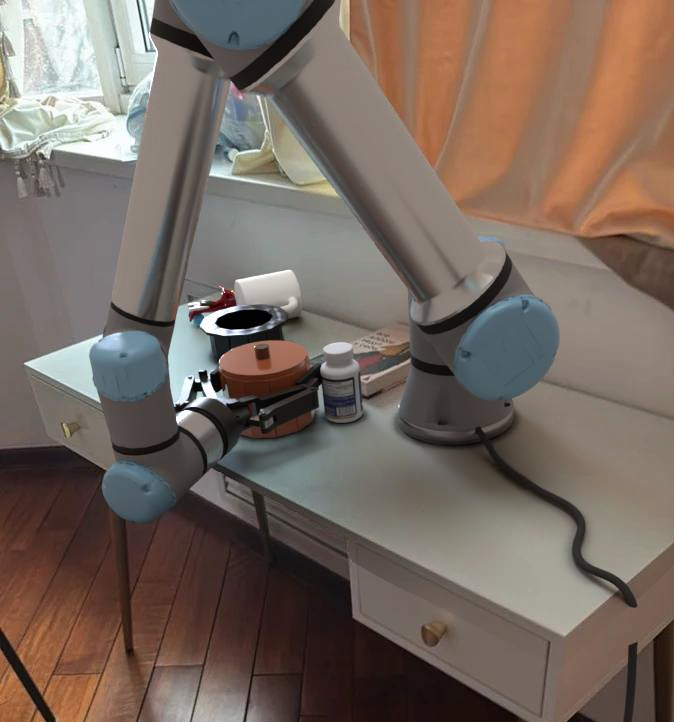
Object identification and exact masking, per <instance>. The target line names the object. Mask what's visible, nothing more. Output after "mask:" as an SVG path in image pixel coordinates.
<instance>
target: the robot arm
mask: <svg viewBox="0 0 674 722" xmlns="http://www.w3.org/2000/svg"><path fill="white" fill-rule="evenodd" d="M341 3H342V0H154V2H153V8H152V16H151V22H150V28H149V33H148V37H149V39H150V41H151V43H152V45H153V47H154V50H155V53H156V55H155V60H154V66H153V71H152V76H151V82H150V87H149V92H148V98H147V103H146V108H145V114H144V119H143V125H142V130H141V134H140V142H139V146H138V151H137V158H136V163H135V168H134V173H133V178H132V185H131V189H130V193H129V194H130V195H129V199H128V206H127V212H126V217H125V222H124V227H123V232H122V238H121V244H120V249H119V254H118V260H117V265H116V271H115V276H114V282H113V285H112V286H113V287H112V293H111V297H110V300H111V301H110V305H109V309H108V313H107V319H106V323H105V325H104V327H103V332H102V338H100V339H98V341H97V342H96V343H93V345H92V346H91V347H90V349H89V353H88V359H89V363H90V366H91V372H92V382H93V383H92V384H93V385H94V387H95V389H96V392H97V396H98V399H99V402H100V405H101V409H102V413H103V415H104V419H105V423H106V426H107V431H108V433H109V437H110V442H111V448H112V452H113V455H114V459H115V462H113V464H110V465H109V469H107V471H105V473H104V475H103V478H102V484H101V490H102V494H103V498H104V500H105V501H106V503H107V505H108V506H109V508H110V509H111V510H112V511H113V512H114V513H115V514H116V515H117V516H119V517H120V518H121V519H123V520H125V521H127V522H129V523H133V524H137V525H147V524H151V523H153V522H155V521H156V520H158V519H159V518H160V517H162V516H163V515H164V514H165V513H166V512H168V511H169V510H171V509H173V508H174V507H175V506H176V504H177V503H178V502H179V500H181V498H182V497H183V496H185V494H187V492H188V491H190V490H191V489H192V487H194V485H196V484H197V483H198V482H199V481H200V480H201V479H202V478H203V477H204V475H206V474H207V473H208V472H209V471H210V470H211V469H212V468H213V467H215V465H217V464H218V463H219V462H220V461H221V460H223V459H224V458H225V457H226V456H227V455H228V454H229V453H230V452H231V451H232V450H233V449H234V448H235V447H236V445H237V444H238V442H239V440H240V437H241V436H242V435H241V433H242V432H243V431H244V430H247V429H249V428H251V427H252V426H255V427H260V429H261V433H262V434H268V433H270V432H271V431H272V430H273V429H275V428H276V427H277V426H279V425H282V424H284V423H286V422H288V421H290V420H292V419H295V418H297V417H299V416H301V415H303V414H305V413H308V412H310V411H312V410H314V409H315V410H317V409H318V408H320V400H319V387H320V386H322V383H321V374H320V369H321V366H322V363H321V362H315V363H314V364H313V365H312V366H310V369H309V370H308V371H307V372H306V373H305V374H304V375H303V376H301V377H300V378H299V379H298V380H297V381H296V386H294V387H291V388H287V389H284V390H280V391H277V392H274V393H270V394H267V395H264V396H260V397H257V396H256V395H251V396H247V397H244V398H240V399H236V398H234V399H232V398H228V397H223V396H222V397H219V398H218V395H217V394H218V393H219V392H220V391H222V386H221V381H220V375H219V370H218V369H219V366H217V367H216V368H213V369H212V370H211V371H209V372H208V370H207V369H200V370H198V371H197V373H198V378H195V375H187V376H186V377H185V378H184V381H183V385H182V388H181V391H180V394H179V398H178V399H177V400H176V401H175V402H174V399H173V393H172V389H171V379H170V378H171V376H170V364H169V354H170V348H171V344H172V340H173V335H174V331H175V326H176V320H177V315H178V310H179V306H180V301H181V298H182V293H183V289H184V285H185V280H186V276H187V272H188V267H189V263H190V259H191V255H192V250H193V246H194V241H195V238H196V233H197V229H198V225H199V221H200V217H201V212H202V208H203V204H204V200H205V196H206V190H207V187H208V182H209V177H210V174H211V170H212V165H213V161H214V156H215V152H216V148H217V143H218V140H219V135H220V131H221V128H222V127H221V126H222V123H223V119H224V114H225V111H226V110H225V109H226V105H227V101H228V97H229V92H230V88H231V84H233V86H234V87H235V88H236V90H237V91H238V92H239V93H240V94H244V95H250V96H251V95H252V96H258V97H261V98H263V99H266V100H267V102H268V103H269V104H270V106H271V107H272V108H273V110H274V111H275V112H276V114H277V115H278V117H279V118H280V120H282V122H283V123H284V125H285V126H286V127H287V129H288V130H289V132H290V133H291V134H292V135H293V137H294V138H295V139H296V140H297V142H298V144H299V145H300V146H301V147H302V149H303V150H304V151H305V153H306V154H307V155H308V157H309V158H310V159H311V161H312V162H313V164H314V165H315V167H316V168H317V169H318V171H319V172H320V173H321V174H322V176H323V177H324V178H325V180H326V181H327V182H328V184H329V185H330V187H331V188H332V189H333V190H334V191H335V193H336V194H337V196H338V197H339V198H340V200H341V201H342V202H343V204H344V205H345V207H346V208H347V209H348V211H349V212H350V213H351V214H352V216H353V217H354V219H355V220H356V221H357V223H358V224H359V226H361V228H362V229H363V230H364V232H365V234H366V235H367V236H368V237H369V239H370V240H371V241H372V243H373V244H374V245H375V247H376V248H377V249H378V251H379V252H380V254H381V255H382V256H383V257H384V259H385V260H386V262H387V263H388V264H389V266H390V267H391V268H392V270H393V271H394V272H395V274H396V275H397V276H398V278H399V279H400V280H401V283H403V285H404V286H405V287H406V288H407V306H408V307H407V310H408V334H409V357H410V360H409V361H410V362H409V363H410V364H409V365H410V366H409V371H408V374H407V378H406V381H405V385H404V387H403V391H402V395H401V399H400V402H399V404H398V408H397V409H398V424H399V427H400V429H401V430H402V431H403V432H404V433H405V434H407V435H408V436H410V437H412V438H414V439H417V440H418V441H422V442H426V443H430V444H436V445H446V446H447V445H448V446H449V445H450V446H454V445H468V444H469V445H470V444H475V443H476V444H477V443H479V442H482V444H483V445H484V447H485V448H486V451H487V452H488V454H489V456H490V457H491V458H492V460H493V461H494V462H495V463H496V464H497V466H498V467H499V468H500V469H502V471H504V472H505V474H507V475H509V476H510V477H512V478H513V479H514V480H516V481H517V482H519V483H520V484H521V485H523V486H524V487H526V488H527V489H529V490H530V491H532V492H533V493H535V494H537V495H538V496H541V497H542V498H544V499H547V500H549V501H550V502H552V503H555V504H556V505H559V506H560V507H562V508H563V509H565V510H566V511H568V513H570V514H571V515H572V516H573V517H574V519H575V521H576V524H577V525H576V526H577V529H576V532H575V535H574V538H573V541H572V546H571V554H572V557H573V559H574V561H575V563H576V564H577V566H578V567H579V568H580V569H581V570H583V571H584V572H586V573H588V574H590V575H592V576H594V577H597V578H600V579H602V580H604V581H606V582H608V583H610V584H611V585H613V586H614V587H615V588H617V590H618V591H620V592H621V594H622V596H623V598H624V600H625V602H626V604H627V605H628V607H630V608H633V609H636V608H637V607H638V606H639V605H638V603H637V599H636V597H635V595H634V593H633V591H632V590H631V589H630V587H629V585H628V584H627V583H626V582H625V581H623V580H622V579H621V578H620V577H619V576H618V575H616V574H615V573H611V572H610V571H608V570H605V569H602V568H600V567H597V566H595V565H592V564H591V563H590V562H588V561H587V560H586V559H584V557H583V555H582V551H581V546H582V542H583V538H584V535H585V532H586V520H585V517H584V515H583V514H582V512H581V511H580V510H579V508H577V507H576V506H575V505H574V504H573V503H572V502H570V501H569V500H567V499H565V498H563V497H561V496H559V495H557V494H555V493H553V492H551V491H550V490H547V489H545V488H543V487H541V486H539V484H536V483H535V482H534V481H532V480H530V479H529V478H527V477H526V476H524V475H523V474H521V473H520V472H518V471H517V470H515V469H514V468H513V467H512V466H510V465H509V464H508V463H507V462H505V460H504V459H503V458H502V457H501V456H500V455H499V454H498V452H497V451H496V449H495V447H494V445H493V443H492V441H490V439H494V438H495V437H497V436H500V435H501V434H503V433H504V432H505V431H507V430H508V429H509V428H510V427H511V426H512V424H513V421H514V408H515V407H514V406H515V403H514V400H513V399H515V398H517V397H520V396H522V395H523V394H525V393H528V392H529V391H530V390H531V389H533V388H534V387H535V386H536V385H538V384H539V383H540V382H541V381H542V380H543V378H544V377H546V375H547V373H549V371H550V369H551V368H552V366H553V364H554V362H555V360H556V359H555V358H556V355H557V353H558V350H559V347H560V340H561V333H560V326H559V323H558V320H557V318H556V315H555V313H554V312H553V310H552V308H551V306H550V305H549V304H548V303H547V302H546V301H544V300H543V298H541V297H539V296H537V295H536V294H535V293H534V292H533V291H532V289H531V288H530V287H529V285H528V283H527V282H526V281H525V278H524V277H523V276H522V274H521V273H520V271H519V270H518V268H517V267H516V265H515V263H514V262H513V260H512V259H511V257H510V256H509V255H508V253H507V251H506V250H505V249H506V247H505V243H504V241H503V240H502V239H501V238H498V237H495V236H488V235H477V234H476V232H475V231H474V229H473V228H472V226H471V225H470V223H469V221H468V220H467V218H466V217H465V216H464V214H463V212H462V211H461V209H460V208H459V206H458V204H457V203H456V202H455V200H454V199H453V197H452V196H451V194H450V192H449V191H448V189H447V188H446V186H445V185H444V183H443V182H442V180H441V179H440V177H439V176H438V174H437V172H436V171H435V170H434V167H432V165H431V163H430V162H429V160H428V159H427V157H426V155H425V154H424V152H423V151H422V150H421V148H420V147H419V145H418V143H417V142H416V140H415V139H414V137H413V136H412V133H410V131H409V130H408V128H407V126H406V125H405V124H404V122H403V120H402V119H401V118H400V116H399V114H398V113H397V111H396V110H395V109H394V107H393V105H392V104H391V102H390V101H389V99H388V97H387V96H386V94H385V93H384V92H383V90H382V88H381V87H380V85H379V84H378V82H377V81H376V79H375V77H374V76H373V75H372V73H371V71H370V70H369V68H368V67H367V66H366V64H365V63H364V61H363V59H362V58H361V57H360V55H359V53H358V52H357V50H356V49H355V46H353V44H352V43H351V41H350V39H349V38H348V36H347V35H346V34H345V32H344V30H343V29H342V27H341V24H340V16H341V15H340V14H341V5H342V4H341ZM198 393H201V394H202V396H200V397H198V395H199V394H198ZM197 397H198V398H197ZM251 403H252V406H253V412H254V416H252V413H251V410H250V407H249V404H251ZM638 645H639V642H638V641H636V642H633V643H631V644H628V645H627V646H628V647H627V672H626V673H627V675H626V689H625V690H626V691H625V701H624V712H623V720H622V722H633V716H634V708H635V698H636V684H637V667H638V647H639V646H638Z"/></svg>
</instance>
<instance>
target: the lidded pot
mask: <svg viewBox="0 0 674 722" xmlns="http://www.w3.org/2000/svg"><path fill="white" fill-rule="evenodd" d="M218 367H219V369H218V370H219V375H220V381H221V386H222V389H221V392H222V398H223V397H228V398H232V399H234V398H236V399H240V398H244V397H247V396H251V395H256V396H257V397H260V396H264V395H267V394H270V393H274V392H277V391H280V390H284V389H287V388H291V387H294V386H296V381H297V380H298V379H299V378H300V377H301V376H303V375H304V374H305V373H306V372H307V371H308V370H309V369H310V368H311V364H310V356H309V355H308V350H307V348H306V347H305V346H303V345H302V344H299V343H297V342H293V341H288V340H284V341H277V340H274V341H260V342H254V343H249V344H245V345H242V346H239V347H236V348H234V349H232V350H230V351H228V352H226V353H225V354H224V355H223V356H222V357H221V358H220V360H219V363H218ZM249 407H250V410H251V413H252V416H254V412H253V406H252V403H251V404H249ZM315 413H316V409H314V410H312V411H310V412H308V413H305V414H303V415H301V416H299V417H297V418H295V419H292V420H290V421H288V422H286V423H284V424H282V425H279V426H277V427H276V428H275V429H273V430H272V431H271V432H270V433H268V434H262V433H261V429H260V427H255V426H252V427H251V428H249V429H247V430H244V431H243V432H242V433H241V435H240V436H243V437H247V438H251V439H272V438H279V437H283V436H286V435H290V434H294V433H298V432H299V431H301V430H302V429H304V428H306V427H307V426H309V425H310V424H311V423H313V420H314V417H315Z"/></svg>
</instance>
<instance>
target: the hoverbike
mask: <svg viewBox="0 0 674 722" xmlns="http://www.w3.org/2000/svg"><path fill="white" fill-rule="evenodd" d="M218 289H221V295H220V296H221V297H220V298H219V299H217V300H210V299H209V300H206V299H201V300H200V301H199V302H192V303H188V304H187V307H188V319H189V323H191V322H193V323H194V324H195V325H197V326H200V324H201V323H202V321H203V319H204V318H205V316H204V315H203V314H208V313H215V312H217V311H219V310H222V309H227V308H231V307H235V306H237V305H236V299H235V292H234V290H231V289H229V288H224V287H223V286H218Z"/></svg>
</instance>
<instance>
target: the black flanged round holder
mask: <svg viewBox="0 0 674 722" xmlns="http://www.w3.org/2000/svg"><path fill="white" fill-rule="evenodd" d="M287 318H288V313H287V312H286V311H285V310H283V309H282V308H281V307H277V306H271V305H265V304H255V305H240V306H235V307H231V308H227V309H222V310H219V311H217V312H212V313H211V314H209V315H206V316H204V319H203V321H202V323H201V324H200V325H199V329H200V330H201V332H203V333H204V334H205V335H206V336H208V337H209V341H210V347H211V352H212V358H213V360H214V361H215V362H217V364H219V360H220V358H221V357H222V356H223V355H224V354H225V353H226V352H228V351H230V350H232V349H234V348H236V347H239V346H242V345H245V344H249V343H254V342H260V341H274V340H277V341H285V339H284V332H283V326H284V325H286V323H287V320H288V319H287Z"/></svg>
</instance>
